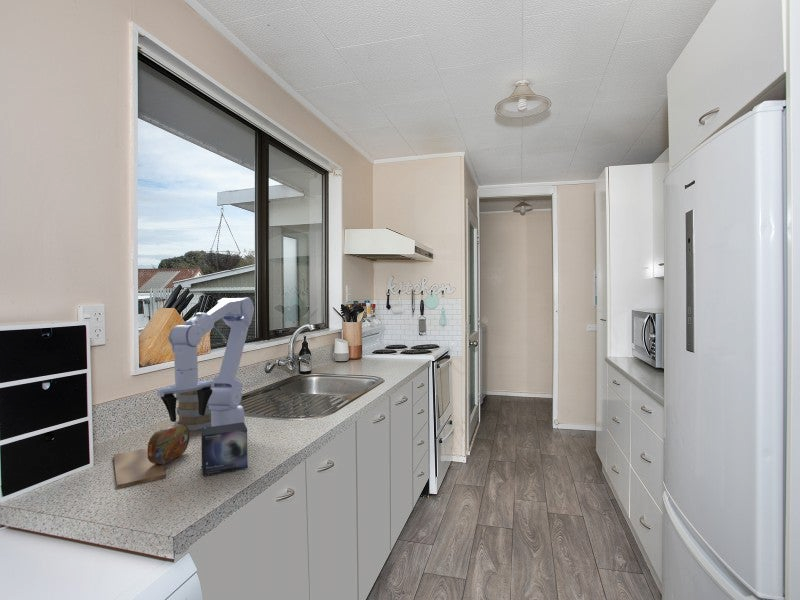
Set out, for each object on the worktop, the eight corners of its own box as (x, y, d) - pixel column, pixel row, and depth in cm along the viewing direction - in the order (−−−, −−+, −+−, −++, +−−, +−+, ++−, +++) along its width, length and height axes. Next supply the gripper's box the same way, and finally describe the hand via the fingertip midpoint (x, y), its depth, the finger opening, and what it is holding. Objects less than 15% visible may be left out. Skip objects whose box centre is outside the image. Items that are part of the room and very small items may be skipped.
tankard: (182, 433, 143) (181, 386, 142) (171, 425, 152) (170, 381, 152) (243, 420, 156) (242, 377, 156) (230, 413, 165) (229, 373, 165)
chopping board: (155, 449, 128) (154, 446, 128) (165, 477, 108) (165, 474, 108) (113, 457, 122) (113, 454, 122) (117, 488, 103) (117, 484, 103)
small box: (203, 477, 108) (201, 434, 108) (201, 468, 114) (200, 427, 113) (248, 469, 113) (247, 427, 112) (244, 460, 118) (243, 421, 118)
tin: (154, 468, 111) (158, 434, 112) (142, 467, 111) (146, 433, 112) (189, 451, 126) (192, 421, 126) (178, 450, 126) (181, 420, 127)
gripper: (206, 363, 131) (207, 409, 131) (152, 371, 120) (154, 421, 120) (217, 366, 126) (218, 414, 126) (162, 373, 115) (163, 426, 115)
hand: (187, 417), depth 123 cm, fingers open, 7 cm apart
